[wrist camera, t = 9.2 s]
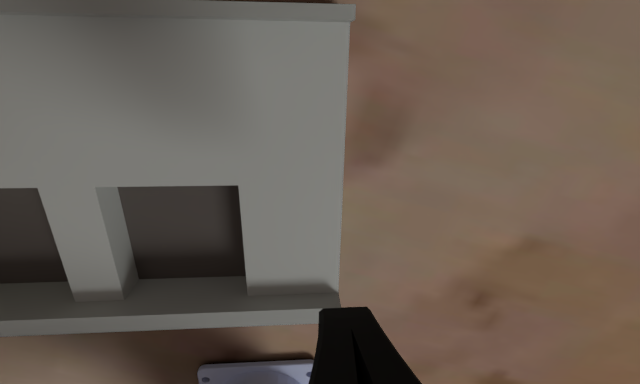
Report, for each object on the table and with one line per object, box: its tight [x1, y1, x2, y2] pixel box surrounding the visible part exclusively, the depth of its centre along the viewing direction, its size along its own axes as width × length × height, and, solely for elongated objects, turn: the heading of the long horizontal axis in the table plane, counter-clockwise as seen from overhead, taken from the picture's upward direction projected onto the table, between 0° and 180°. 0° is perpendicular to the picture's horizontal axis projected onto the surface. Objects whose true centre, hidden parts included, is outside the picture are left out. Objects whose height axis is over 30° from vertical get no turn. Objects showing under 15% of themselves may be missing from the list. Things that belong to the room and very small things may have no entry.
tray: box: [0, 0, 356, 337], centre depth 16 cm, size 15×22×3 cm
